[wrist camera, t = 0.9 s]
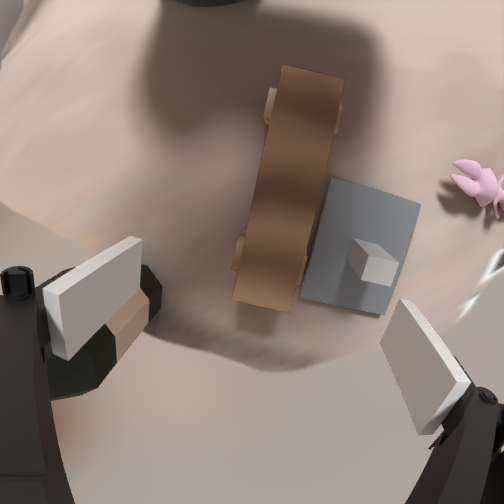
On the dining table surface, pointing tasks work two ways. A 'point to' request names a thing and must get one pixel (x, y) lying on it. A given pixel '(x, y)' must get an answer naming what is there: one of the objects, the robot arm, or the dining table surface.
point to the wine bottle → (104, 343)
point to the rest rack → (242, 236)
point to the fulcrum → (359, 247)
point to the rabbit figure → (480, 184)
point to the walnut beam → (288, 187)
